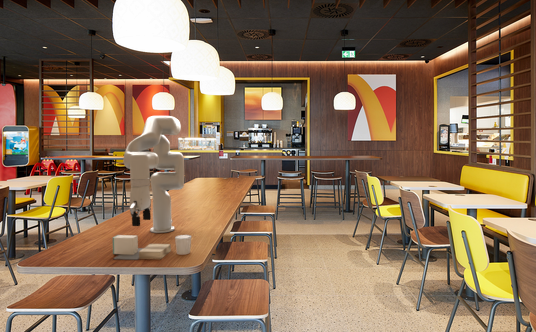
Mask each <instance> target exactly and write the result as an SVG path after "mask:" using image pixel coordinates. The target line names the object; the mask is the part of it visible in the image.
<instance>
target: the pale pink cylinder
mask: <svg viewBox="0 0 536 332" xmlns="http://www.w3.org/2000/svg"><path fill="white" fill-rule="evenodd" d="M174 240H175V249H176V254H177V255H178V256H179V255H180V256H182V255H188V254H190V253H191V244H192V235H189V234H179V235H176V236H175V237H174Z"/></svg>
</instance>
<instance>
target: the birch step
mask: <svg viewBox="0 0 536 332" xmlns="http://www.w3.org/2000/svg"><path fill="white" fill-rule="evenodd" d="M171 246H172V245H171V244H170V243H149V244H148V245H146V246H145V247H142V248H143V249H142V250H140V251H139V259H138V260H162V259H163V258H165V257H166V256H167V255H168V254H169V253H170V252H172V247H171Z"/></svg>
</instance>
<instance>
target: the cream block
mask: <svg viewBox="0 0 536 332" xmlns="http://www.w3.org/2000/svg"><path fill="white" fill-rule="evenodd" d="M138 239H139V237H138V235H131V234H130V235H129V234H128V235H127V234H126V235H125V234H116V235H115V236H113V237H112V254H113V255H120V254H130V255H134V254H135V253H137V252H138V248H139V244H138V243H139V240H138Z"/></svg>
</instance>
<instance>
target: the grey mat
mask: <svg viewBox="0 0 536 332" xmlns="http://www.w3.org/2000/svg"><path fill="white" fill-rule="evenodd" d="M143 248H144V247H138V252H137V253H135V254H134V255H130V254H117V255H116V256H115V257H113V260H122V261H123V260H125V261H126V260H127V261H138V260H140V259H139V251H140V250H142V249H143Z"/></svg>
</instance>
